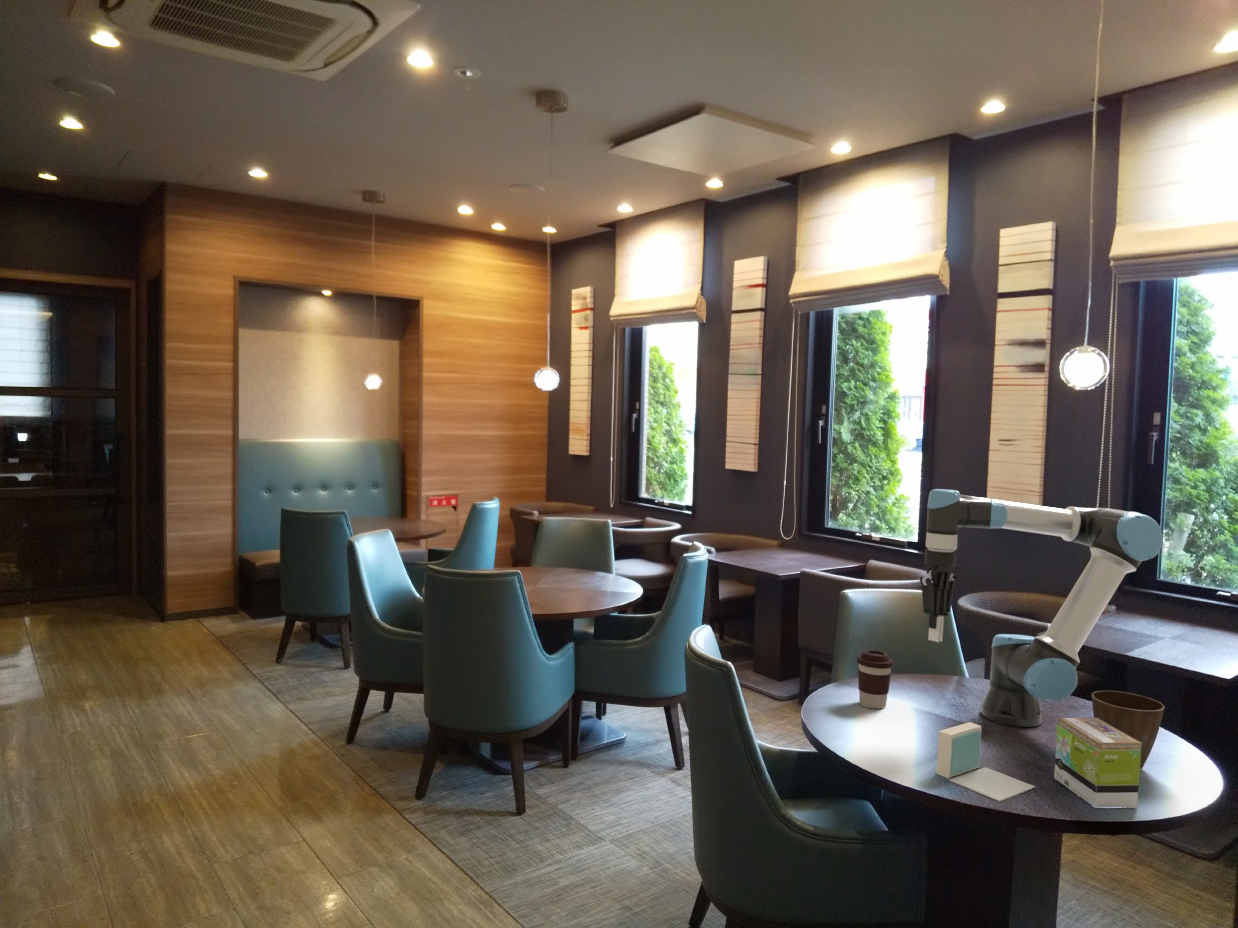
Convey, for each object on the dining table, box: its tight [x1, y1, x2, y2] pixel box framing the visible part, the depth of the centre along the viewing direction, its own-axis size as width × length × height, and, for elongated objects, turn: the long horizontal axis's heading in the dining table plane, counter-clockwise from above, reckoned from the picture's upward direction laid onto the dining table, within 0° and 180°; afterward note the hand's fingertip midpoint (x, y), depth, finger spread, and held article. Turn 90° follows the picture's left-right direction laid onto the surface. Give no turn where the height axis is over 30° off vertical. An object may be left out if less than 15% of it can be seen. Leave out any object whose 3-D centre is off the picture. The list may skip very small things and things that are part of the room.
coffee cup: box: [856, 649, 895, 710], centre depth 240 cm, size 10×10×15 cm
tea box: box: [1053, 717, 1142, 809], centre depth 185 cm, size 15×10×15 cm
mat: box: [948, 766, 1036, 803], centre depth 189 cm, size 14×12×1 cm
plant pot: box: [1091, 690, 1165, 770], centre depth 202 cm, size 15×15×16 cm
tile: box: [936, 721, 983, 779], centre depth 195 cm, size 12×3×10 cm, turn 124°
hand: (935, 640), depth 218 cm, fingers closed
